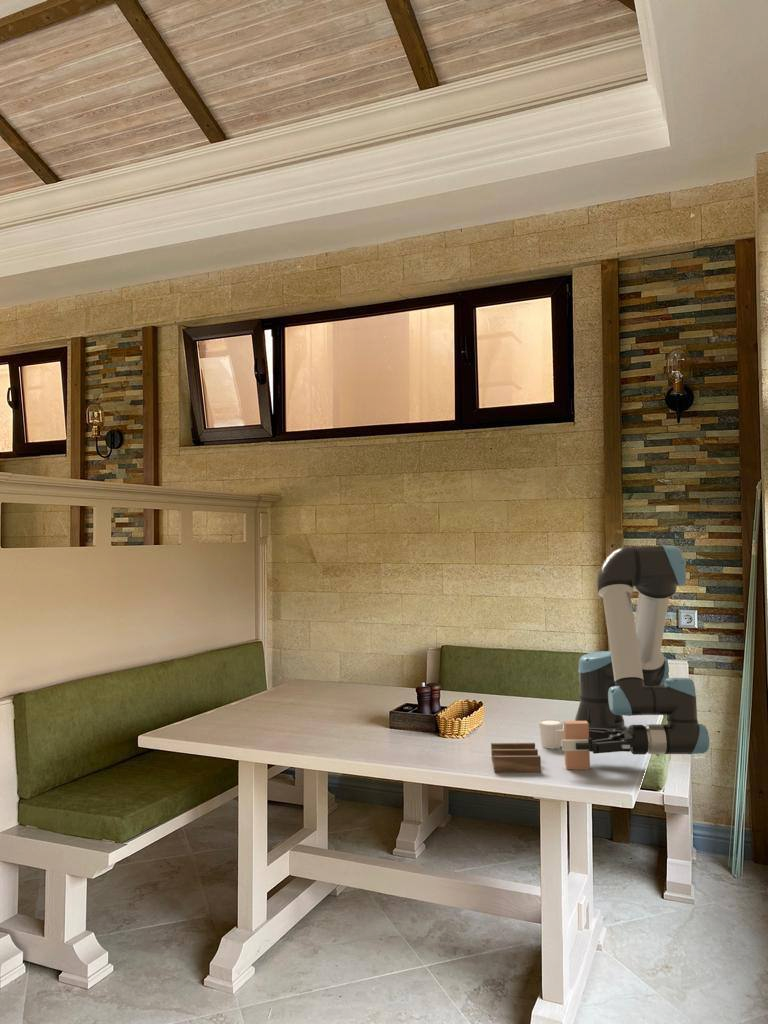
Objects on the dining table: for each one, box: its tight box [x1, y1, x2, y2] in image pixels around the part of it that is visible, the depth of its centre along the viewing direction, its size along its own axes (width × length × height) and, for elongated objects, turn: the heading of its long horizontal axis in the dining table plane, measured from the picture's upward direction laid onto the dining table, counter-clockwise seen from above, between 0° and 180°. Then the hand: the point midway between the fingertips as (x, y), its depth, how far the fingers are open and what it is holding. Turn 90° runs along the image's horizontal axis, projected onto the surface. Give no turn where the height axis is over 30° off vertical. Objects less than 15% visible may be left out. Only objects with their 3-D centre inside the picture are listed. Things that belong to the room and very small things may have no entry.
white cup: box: [538, 719, 564, 750], centre depth 228 cm, size 7×7×7 cm
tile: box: [563, 720, 591, 770], centre depth 207 cm, size 3×6×12 cm, turn 85°
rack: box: [490, 742, 542, 773], centre depth 211 cm, size 14×12×4 cm
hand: (559, 740), depth 208 cm, fingers open, 9 cm apart
